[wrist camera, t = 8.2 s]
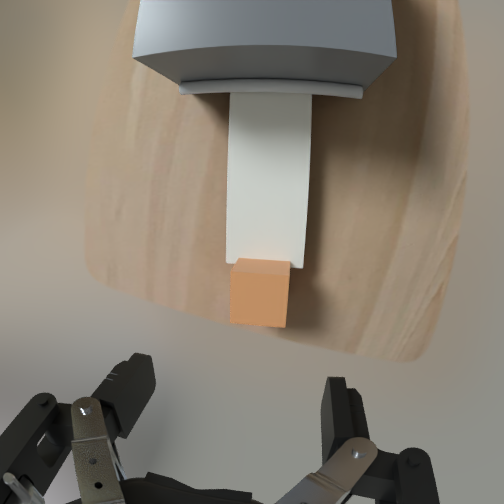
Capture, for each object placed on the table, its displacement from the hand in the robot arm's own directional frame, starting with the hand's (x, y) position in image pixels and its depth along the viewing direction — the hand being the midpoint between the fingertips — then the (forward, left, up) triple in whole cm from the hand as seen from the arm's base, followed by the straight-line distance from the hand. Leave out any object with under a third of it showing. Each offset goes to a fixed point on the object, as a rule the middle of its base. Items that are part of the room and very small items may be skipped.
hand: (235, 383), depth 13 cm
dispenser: (-23, 0, -15) cm, 28 cm away
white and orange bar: (-8, 0, -14) cm, 16 cm away
